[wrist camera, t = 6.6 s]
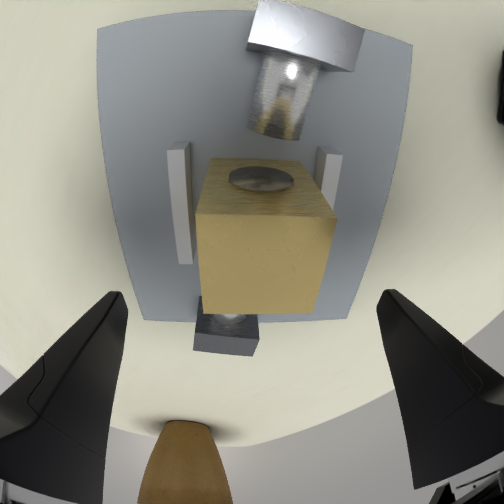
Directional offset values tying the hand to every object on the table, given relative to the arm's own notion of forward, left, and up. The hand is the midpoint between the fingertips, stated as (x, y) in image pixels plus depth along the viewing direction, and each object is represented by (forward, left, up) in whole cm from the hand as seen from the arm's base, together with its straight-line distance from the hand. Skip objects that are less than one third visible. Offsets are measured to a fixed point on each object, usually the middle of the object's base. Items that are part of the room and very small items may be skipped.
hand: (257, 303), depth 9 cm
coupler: (0, 0, -7) cm, 7 cm away
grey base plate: (0, 0, -9) cm, 9 cm away
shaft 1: (+1, +7, -7) cm, 10 cm away
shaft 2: (-1, -7, -7) cm, 10 cm away
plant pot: (+9, +41, -9) cm, 43 cm away
